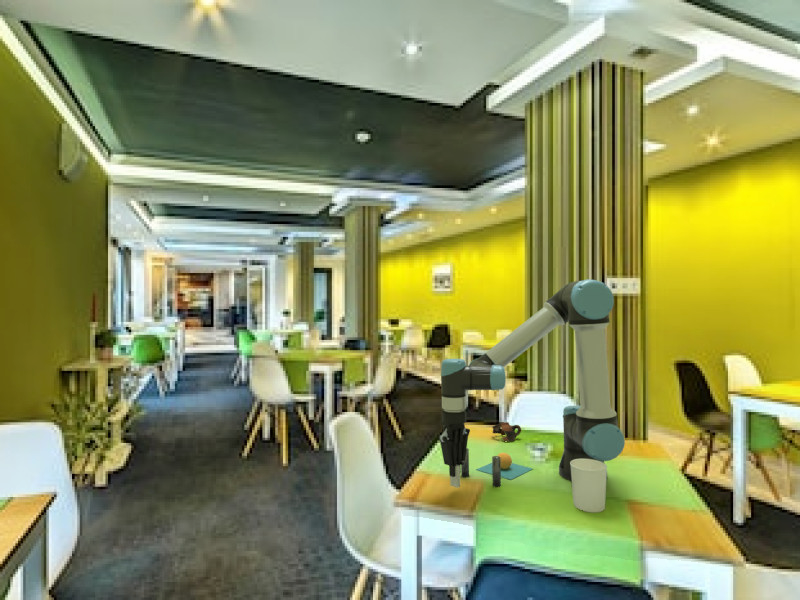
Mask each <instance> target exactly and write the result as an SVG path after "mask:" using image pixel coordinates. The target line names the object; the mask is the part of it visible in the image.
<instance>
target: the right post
mask: <svg viewBox="0 0 800 600" xmlns="http://www.w3.org/2000/svg"><path fill="white" fill-rule="evenodd" d="M491 463H492V474H491V477H492V486H493V487H494V486H495V487H494V488H500V486H501V487H502V477H501V460H500V457H499V456H498V455H492V457H491Z"/></svg>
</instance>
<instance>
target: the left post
mask: <svg viewBox="0 0 800 600" xmlns="http://www.w3.org/2000/svg"><path fill="white" fill-rule="evenodd" d="M469 451H470V449H469V448H468V447H467V449H466V457H465V461H462V462H463V463H464V464H463V465H461V473H460V477H463V478H468V477H470V457H469V456H470V453H469Z"/></svg>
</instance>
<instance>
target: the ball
mask: <svg viewBox="0 0 800 600" xmlns="http://www.w3.org/2000/svg"><path fill="white" fill-rule="evenodd" d="M497 456H499V457H500V460H501V469H508V468H509V467H510V466H511V464H512V463H513V459H512V457H511V455H510V454H509V453H506V452H500V453H498V454H497Z"/></svg>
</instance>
